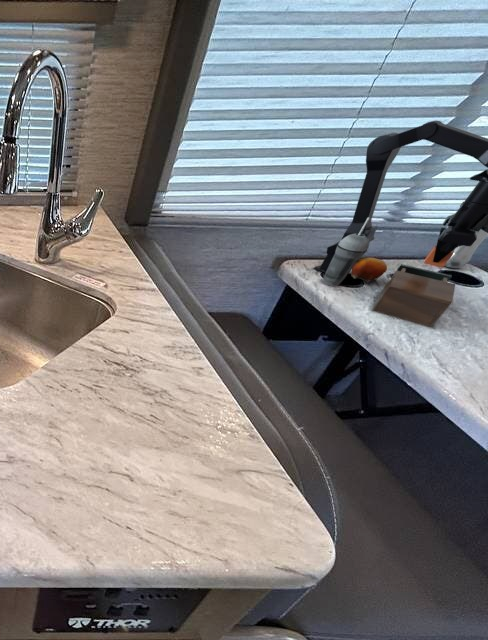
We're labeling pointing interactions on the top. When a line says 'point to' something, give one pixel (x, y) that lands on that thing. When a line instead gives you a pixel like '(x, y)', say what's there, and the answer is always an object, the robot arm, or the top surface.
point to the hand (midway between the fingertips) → (435, 259)
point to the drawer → (424, 273)
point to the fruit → (368, 269)
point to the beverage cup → (346, 257)
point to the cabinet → (415, 298)
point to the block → (441, 263)
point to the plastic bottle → (465, 252)
